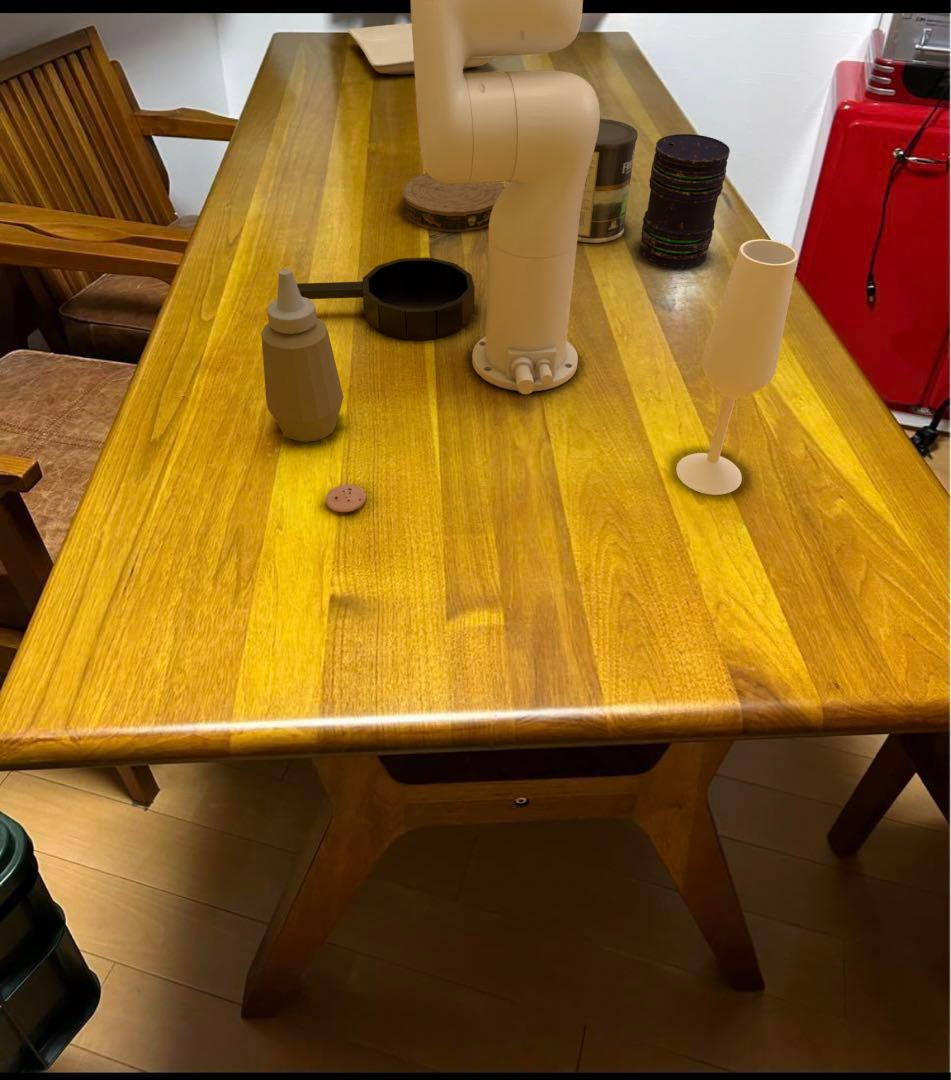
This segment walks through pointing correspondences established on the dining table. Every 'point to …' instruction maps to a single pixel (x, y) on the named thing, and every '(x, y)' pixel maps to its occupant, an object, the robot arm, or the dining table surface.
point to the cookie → (345, 498)
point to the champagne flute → (742, 350)
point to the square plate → (395, 48)
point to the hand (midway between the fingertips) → (447, 97)
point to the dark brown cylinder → (682, 200)
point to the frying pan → (408, 297)
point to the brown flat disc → (449, 204)
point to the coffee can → (607, 183)
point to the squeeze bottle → (299, 366)
